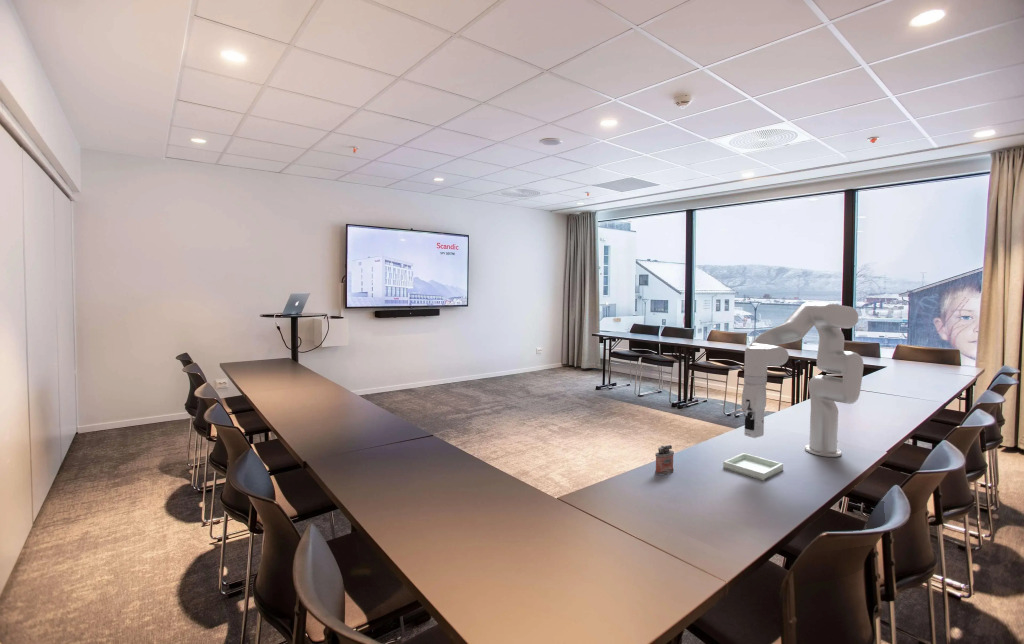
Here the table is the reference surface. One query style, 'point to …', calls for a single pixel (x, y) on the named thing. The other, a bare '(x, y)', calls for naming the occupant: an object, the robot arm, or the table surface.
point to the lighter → (664, 460)
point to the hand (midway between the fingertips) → (754, 427)
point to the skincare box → (756, 425)
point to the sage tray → (753, 466)
